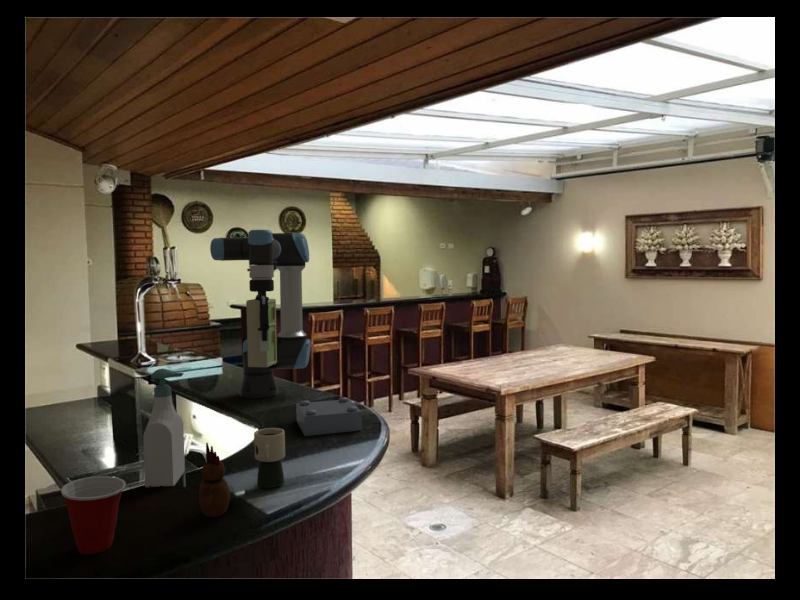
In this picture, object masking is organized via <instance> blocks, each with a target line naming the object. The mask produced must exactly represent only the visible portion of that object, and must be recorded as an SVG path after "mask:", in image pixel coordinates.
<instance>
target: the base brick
mask: <svg viewBox="0 0 800 600" xmlns="http://www.w3.org/2000/svg"><path fill="white" fill-rule="evenodd" d="M295 405H296V408H295V409H296V410H295V411H296V422H297V424H298V427H299V428H300V430H301V432H302V433H303V435H304V437H309V436H317V435H327V434H328V435H329V434H337V433H338V434H339V433H347V432H358V431H359V430H360V431H363V418H362V417H363V416H362V415H363V412H362V410H361V409H360V408H359V407H358V406H357V405H355V403H354V402H353V401H351V399H349V398H348V397H345V396H344V397H339V398H338V399H335V400H332V399H331V400H324V401H322V400H321V401H310V400H300V401H299V402H297V403H295Z"/></svg>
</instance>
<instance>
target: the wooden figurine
mask: <svg viewBox="0 0 800 600" xmlns="http://www.w3.org/2000/svg"><path fill="white" fill-rule="evenodd" d="M225 473H226V467H225V465H224V462H223V461H222V460H221V459H220V456H219V455H217V452H216V451H214V446H213V445H211V446H210V447H209V443H208V442H206V443H205V462H204V463H203V466H202V468H201V475H202V479H203V480H202V481H201V482H200V484H199V489H198V498H199V505H200V509H201V512H202V513H203V515H204V516H206V517H208V518H217V517H220V516H222V515H224V514H225V513H226V512H227V510H228V507H229V504H230V501H231V497H230V496H231V493H230V489H229V485H228V484H229V483H228V482H227V481H226V479H225V478H224V476H225Z"/></svg>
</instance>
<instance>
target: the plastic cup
mask: <svg viewBox="0 0 800 600" xmlns="http://www.w3.org/2000/svg"><path fill="white" fill-rule="evenodd" d="M126 485H127V483H126V481H125V480H124V479H121V478H120V477H116V476H114V477H113V476H107V475H105V476H104V475H102V476H89V477H82V478H79V479H75V480H72V481H70V482H68V483H66V484H64V485H63V486H62V487H61V489H60V492H61V495H62V497H63V498H64V502H65V506H66V508H67V512H68V516H69V517H68V518H69V521H70V524H71V525H70V526H71V530H72V534H73V536H74V539H75V544H76V547H77V548H76V549H77V551H78V552H79V554H82V555H94V554H95V555H96V554H98V553H101V552H104V551H106V550H108V549H109V548H111V547H112V545H113V542H114V538H115V530H116V525H117V520H118V513H119V506H120V500H121V498H122V493H123V491H124V489H125V488H126Z"/></svg>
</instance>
